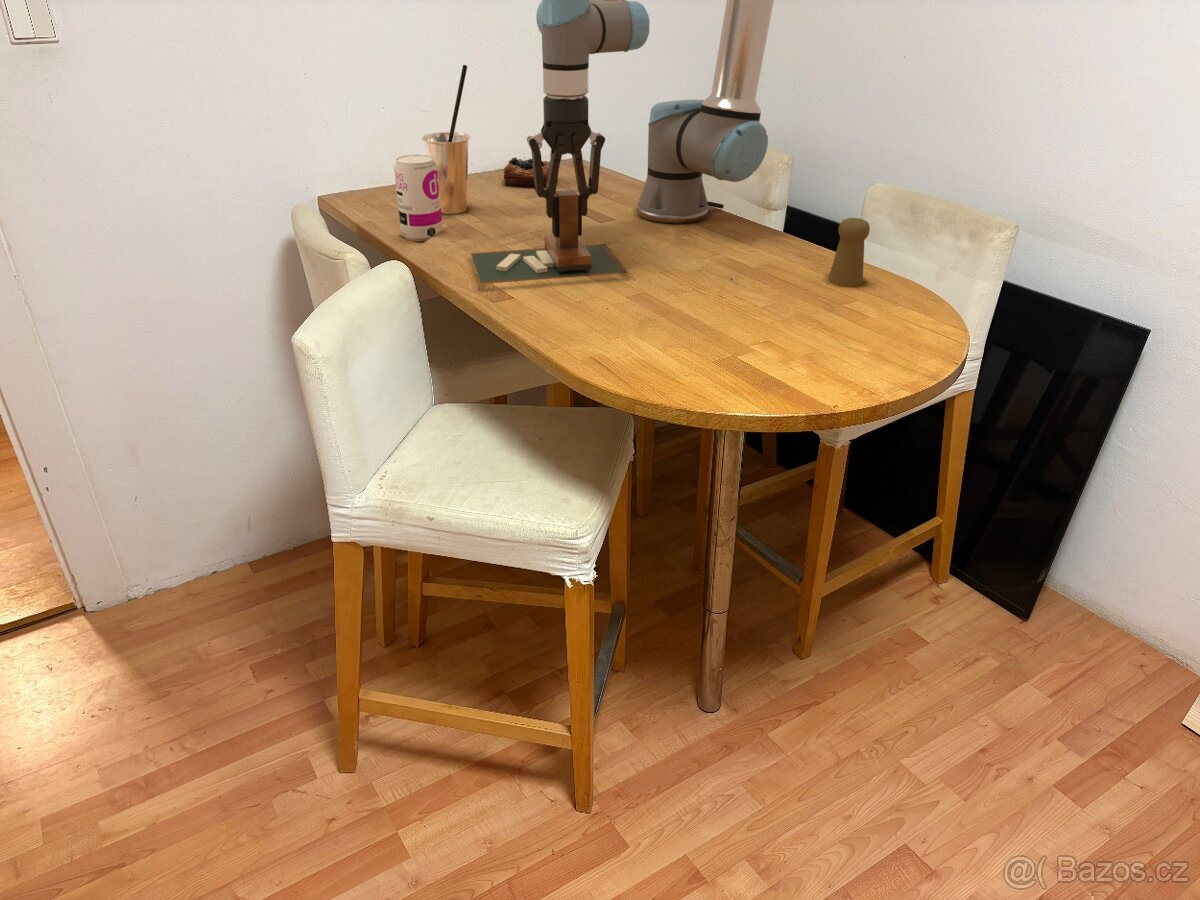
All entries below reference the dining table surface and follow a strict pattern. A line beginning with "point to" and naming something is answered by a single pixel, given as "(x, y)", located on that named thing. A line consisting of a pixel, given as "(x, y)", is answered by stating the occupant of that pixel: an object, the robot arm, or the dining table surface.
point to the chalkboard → (520, 271)
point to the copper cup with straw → (451, 161)
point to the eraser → (567, 237)
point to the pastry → (523, 173)
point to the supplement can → (418, 197)
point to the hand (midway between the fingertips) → (567, 233)
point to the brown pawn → (850, 253)
